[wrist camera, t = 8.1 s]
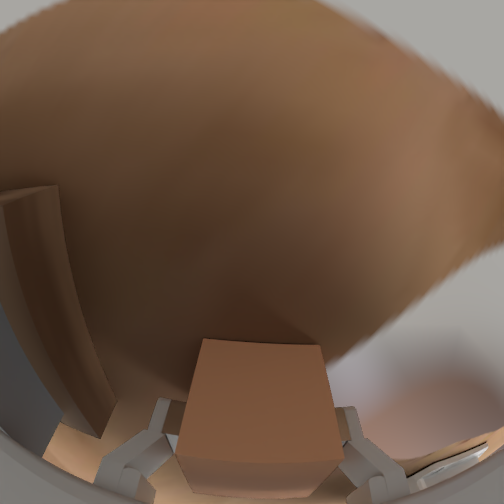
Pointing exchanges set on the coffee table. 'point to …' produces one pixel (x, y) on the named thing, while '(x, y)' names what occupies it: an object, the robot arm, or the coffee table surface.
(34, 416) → the upper tower block
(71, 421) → the lower tower block
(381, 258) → the coffee table surface
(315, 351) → the rust cube
